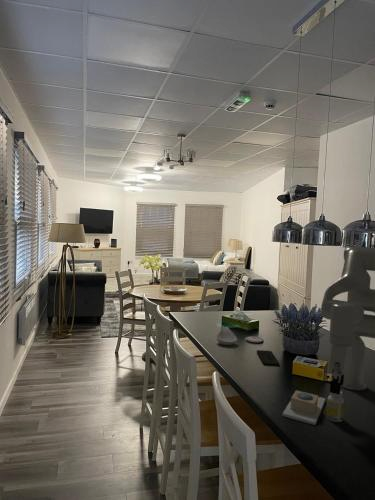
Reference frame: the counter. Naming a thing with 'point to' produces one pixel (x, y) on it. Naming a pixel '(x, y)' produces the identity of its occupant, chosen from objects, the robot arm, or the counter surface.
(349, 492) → the counter surface
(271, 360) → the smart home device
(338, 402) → the supplement bottle
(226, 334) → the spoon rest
